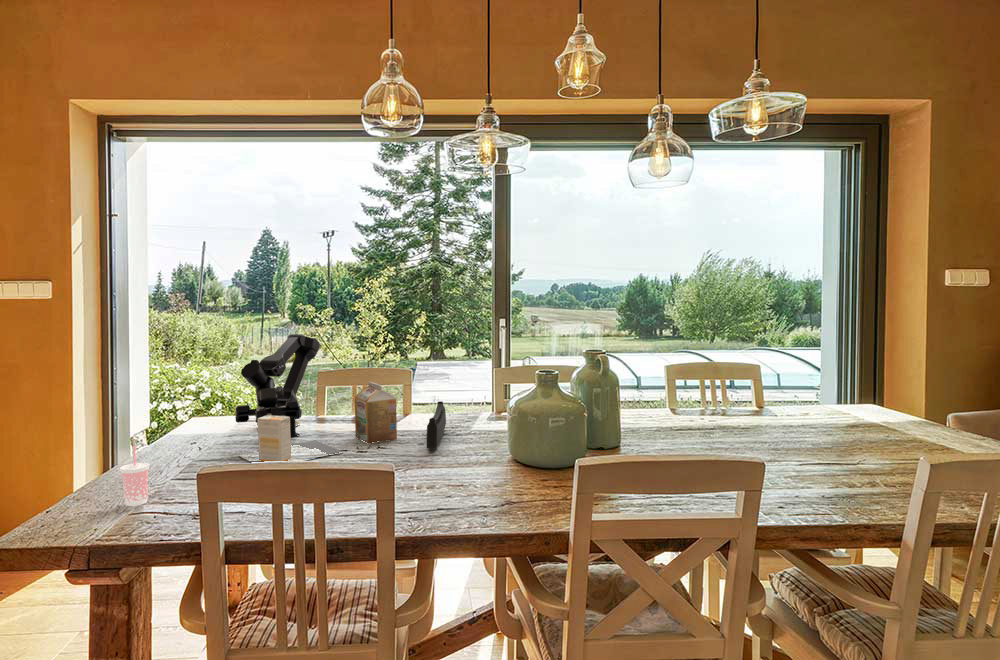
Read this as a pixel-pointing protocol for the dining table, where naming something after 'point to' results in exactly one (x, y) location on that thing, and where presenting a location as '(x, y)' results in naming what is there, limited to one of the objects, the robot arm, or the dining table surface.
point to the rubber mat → (317, 447)
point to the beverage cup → (135, 482)
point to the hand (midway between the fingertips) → (270, 434)
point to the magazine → (436, 427)
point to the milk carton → (375, 414)
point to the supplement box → (274, 438)
